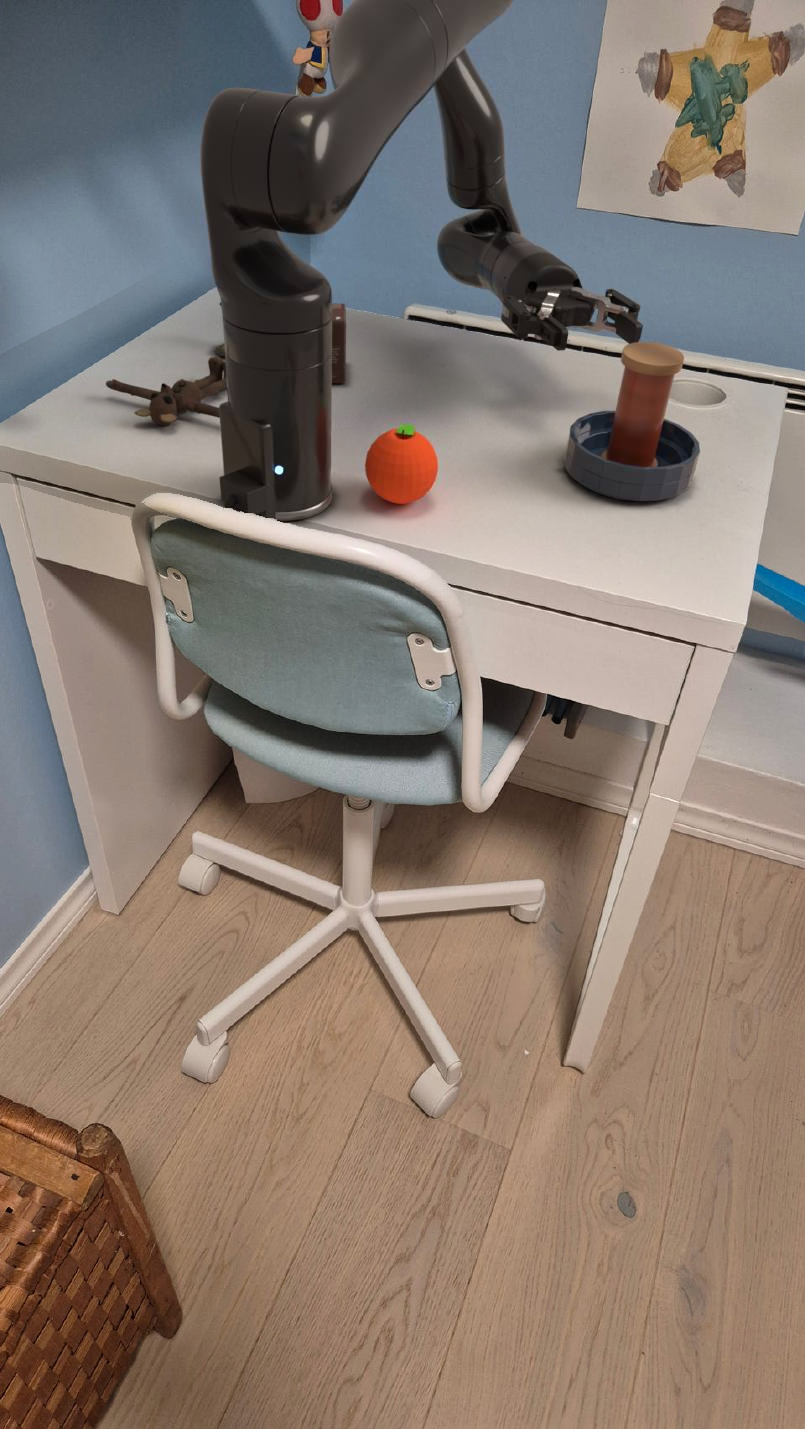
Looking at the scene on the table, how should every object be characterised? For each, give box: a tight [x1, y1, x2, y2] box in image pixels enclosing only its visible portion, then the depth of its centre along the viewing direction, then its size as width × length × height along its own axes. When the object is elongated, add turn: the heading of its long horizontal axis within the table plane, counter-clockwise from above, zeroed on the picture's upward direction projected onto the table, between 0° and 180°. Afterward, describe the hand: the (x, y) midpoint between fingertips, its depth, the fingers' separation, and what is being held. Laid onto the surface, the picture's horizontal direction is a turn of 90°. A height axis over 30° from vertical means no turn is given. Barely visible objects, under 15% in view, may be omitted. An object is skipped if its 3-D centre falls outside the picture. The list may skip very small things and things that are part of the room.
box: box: [332, 302, 347, 384], centre depth 114 cm, size 6×6×7 cm
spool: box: [601, 341, 685, 467], centre depth 97 cm, size 6×6×12 cm
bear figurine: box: [105, 356, 227, 427], centre depth 107 cm, size 18×4×14 cm
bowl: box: [564, 410, 701, 502], centre depth 100 cm, size 13×13×4 cm
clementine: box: [364, 423, 439, 505], centre depth 93 cm, size 8×7×7 cm
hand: (601, 338), depth 101 cm, fingers open, 8 cm apart
